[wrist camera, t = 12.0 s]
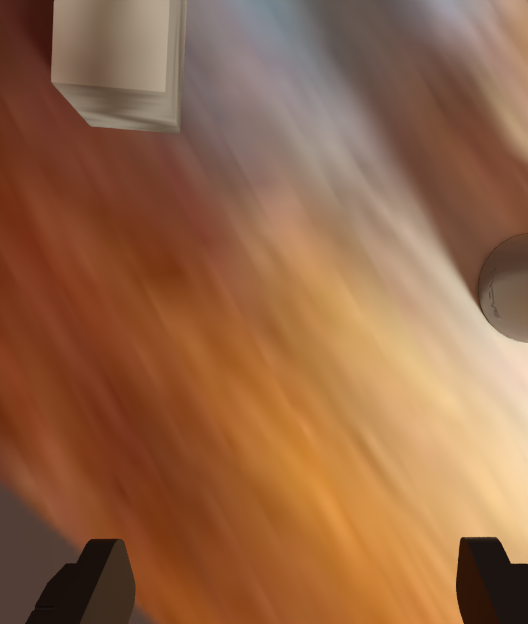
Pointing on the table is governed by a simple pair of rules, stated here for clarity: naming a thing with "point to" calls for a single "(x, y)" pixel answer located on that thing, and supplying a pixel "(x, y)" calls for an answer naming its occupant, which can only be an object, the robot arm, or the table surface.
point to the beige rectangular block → (121, 61)
